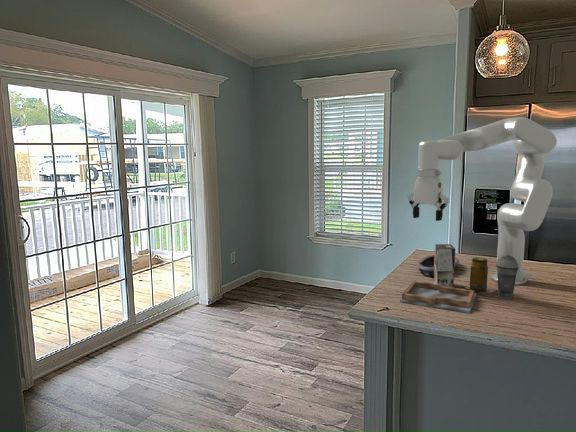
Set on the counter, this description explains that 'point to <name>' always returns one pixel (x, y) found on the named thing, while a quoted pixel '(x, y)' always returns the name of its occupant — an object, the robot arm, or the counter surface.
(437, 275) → the coffee box
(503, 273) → the beverage cup
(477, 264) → the condiment
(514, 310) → the counter surface
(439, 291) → the wooden tray
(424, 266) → the dish
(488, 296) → the counter surface
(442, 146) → the robot arm
